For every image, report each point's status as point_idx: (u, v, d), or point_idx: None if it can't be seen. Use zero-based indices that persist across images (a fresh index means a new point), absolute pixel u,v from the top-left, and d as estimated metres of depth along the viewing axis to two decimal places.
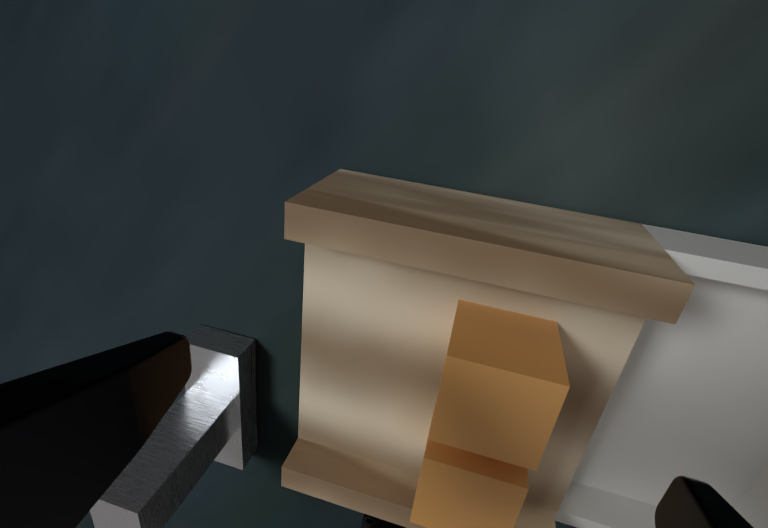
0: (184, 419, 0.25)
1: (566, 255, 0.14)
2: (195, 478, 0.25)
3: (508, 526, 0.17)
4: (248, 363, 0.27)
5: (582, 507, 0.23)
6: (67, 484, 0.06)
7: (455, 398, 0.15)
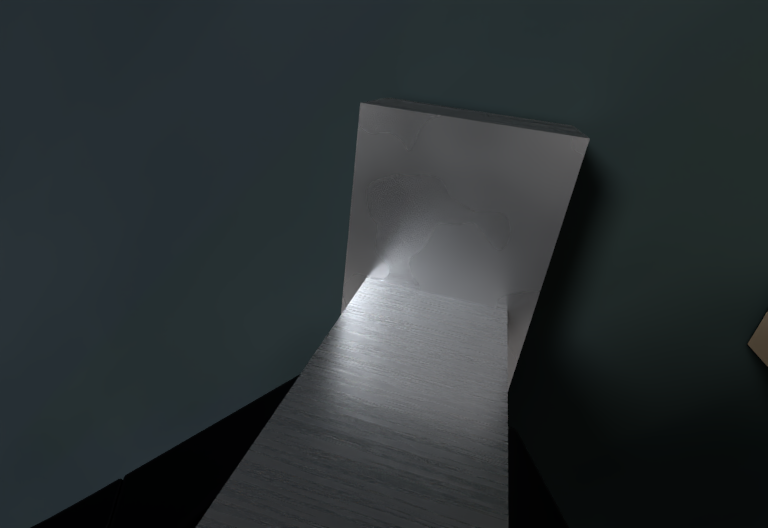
0: (402, 361, 0.07)
1: None
2: None
3: None
4: None
5: None
6: None
7: None
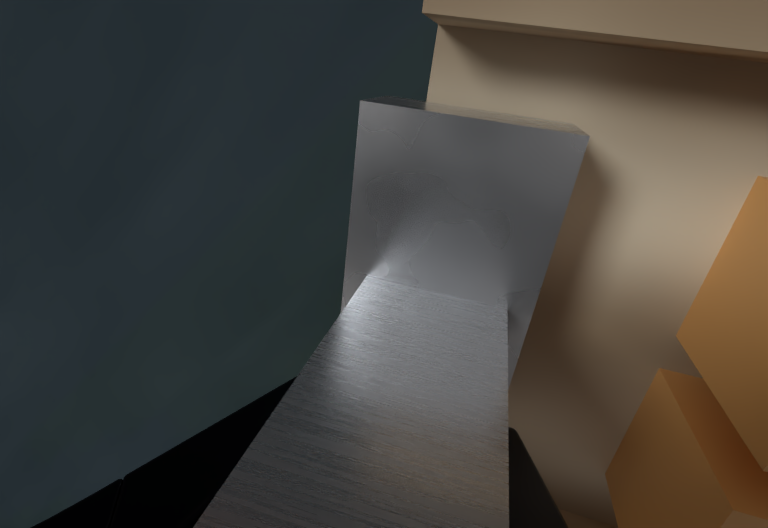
0: (402, 359, 0.07)
1: None
2: None
3: None
4: None
5: None
6: None
7: None
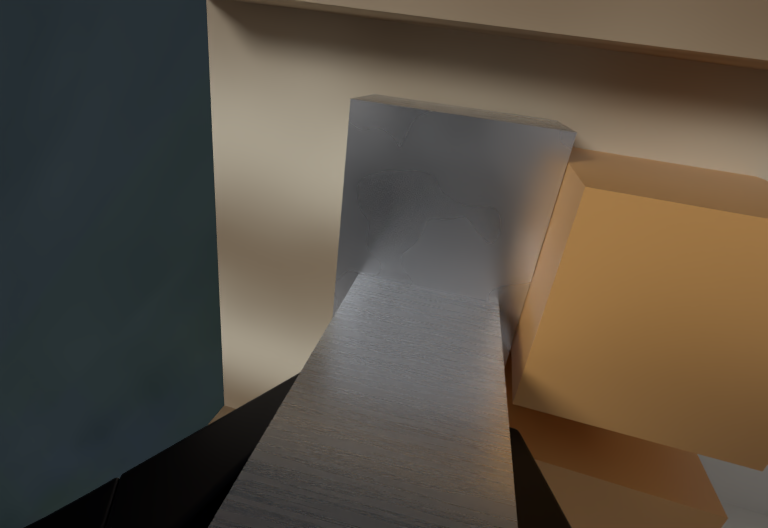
0: (400, 355, 0.07)
1: None
2: None
3: None
4: None
5: None
6: None
7: (591, 303, 0.07)
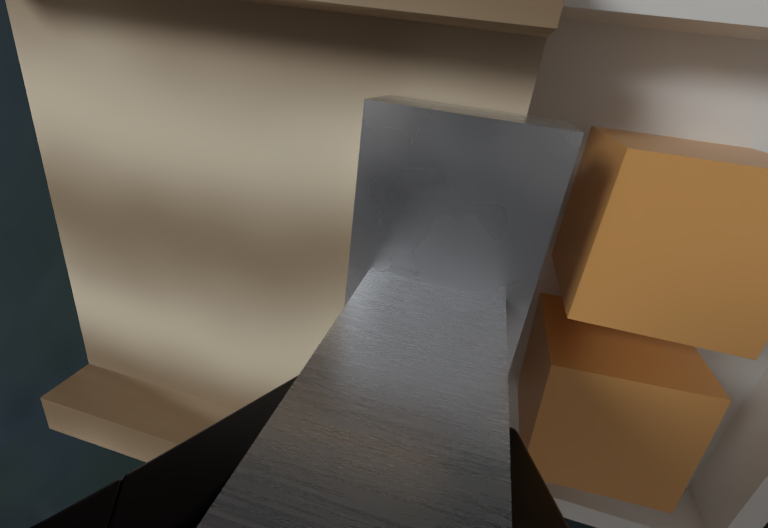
0: (406, 346, 0.07)
1: None
2: None
3: None
4: None
5: None
6: None
7: None
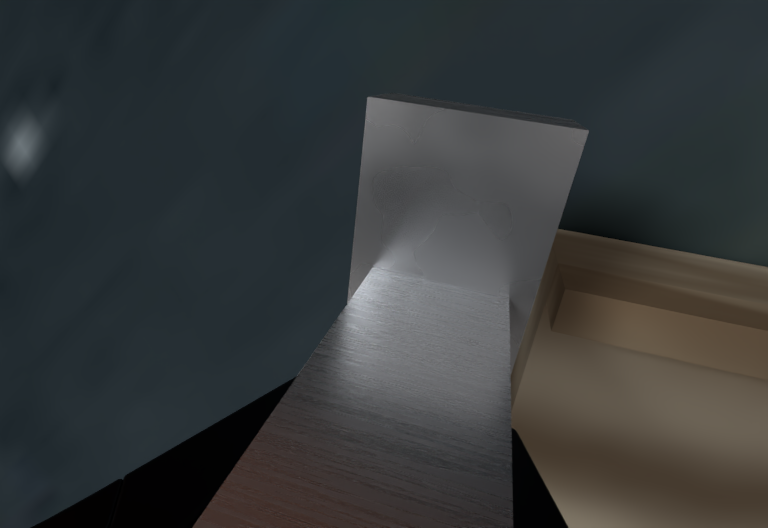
0: (408, 343, 0.07)
1: None
2: None
3: None
4: None
5: None
6: None
7: None
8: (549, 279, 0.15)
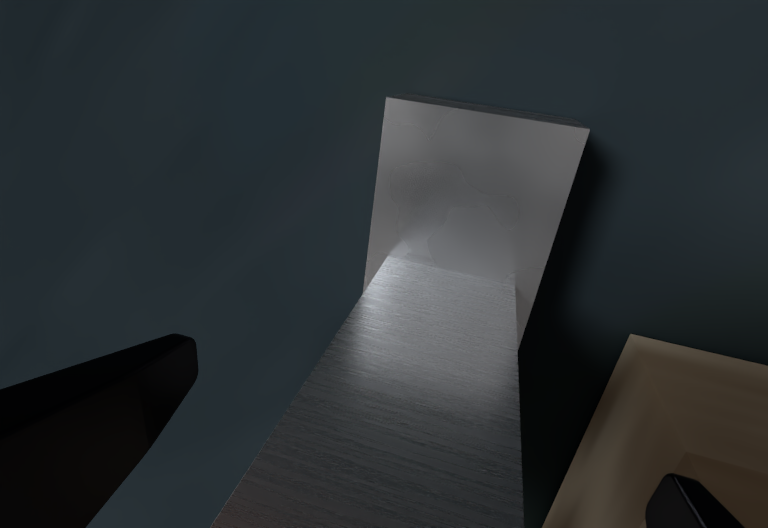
0: (425, 323, 0.08)
1: None
2: None
3: None
4: None
5: None
6: (75, 487, 0.06)
7: None
8: (657, 460, 0.09)
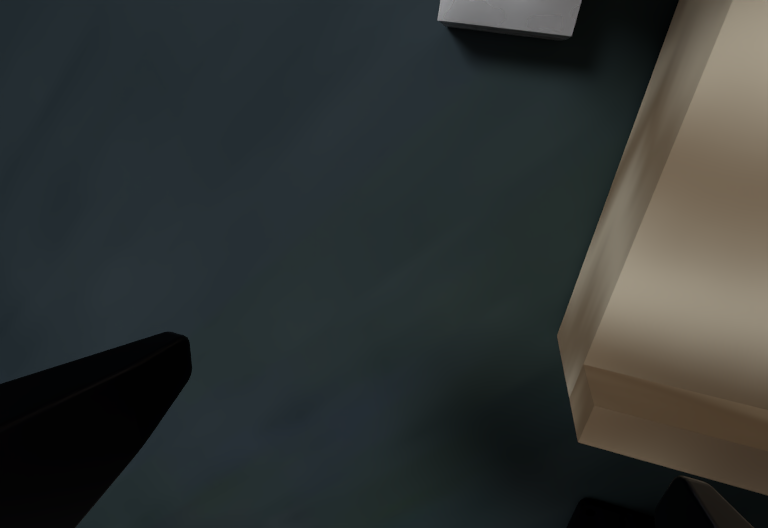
0: None
1: None
2: None
3: None
4: None
5: None
6: (67, 484, 0.06)
7: None
8: None
